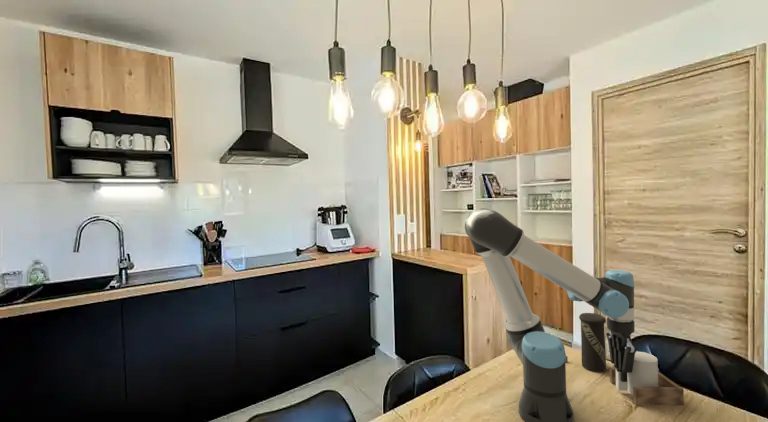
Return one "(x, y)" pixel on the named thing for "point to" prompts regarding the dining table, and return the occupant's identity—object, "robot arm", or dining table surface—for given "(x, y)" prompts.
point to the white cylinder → (643, 371)
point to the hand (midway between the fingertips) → (621, 389)
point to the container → (593, 342)
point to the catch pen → (655, 392)
